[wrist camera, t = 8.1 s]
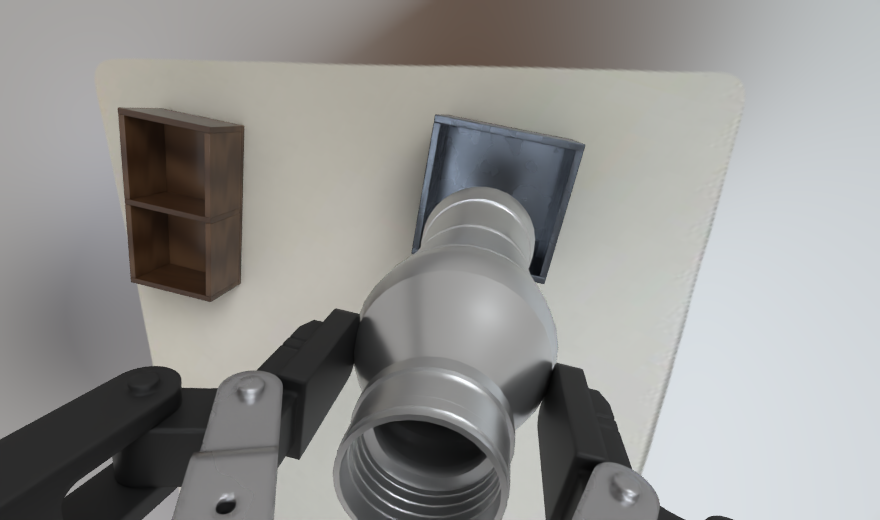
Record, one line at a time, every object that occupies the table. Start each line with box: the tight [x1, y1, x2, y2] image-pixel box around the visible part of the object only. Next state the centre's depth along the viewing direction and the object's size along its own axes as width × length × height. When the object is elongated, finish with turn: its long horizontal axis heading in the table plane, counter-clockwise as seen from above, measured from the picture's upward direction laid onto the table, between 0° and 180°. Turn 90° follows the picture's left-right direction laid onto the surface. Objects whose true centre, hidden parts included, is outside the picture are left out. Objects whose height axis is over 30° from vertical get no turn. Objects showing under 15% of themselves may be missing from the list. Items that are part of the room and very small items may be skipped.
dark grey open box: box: [412, 115, 585, 284], centre depth 39 cm, size 12×12×7 cm
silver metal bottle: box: [333, 187, 558, 520], centre depth 18 cm, size 6×7×20 cm
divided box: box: [118, 108, 244, 302], centre depth 45 cm, size 18×9×5 cm, turn 169°
